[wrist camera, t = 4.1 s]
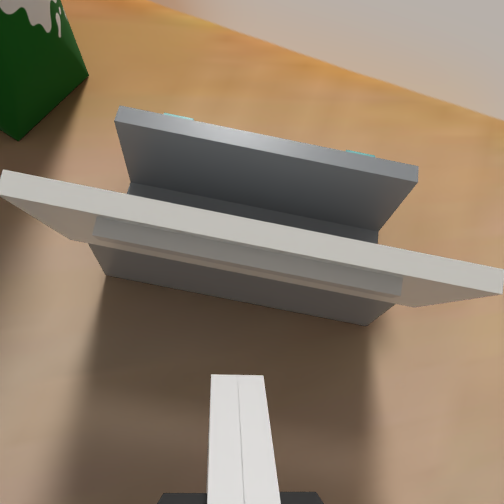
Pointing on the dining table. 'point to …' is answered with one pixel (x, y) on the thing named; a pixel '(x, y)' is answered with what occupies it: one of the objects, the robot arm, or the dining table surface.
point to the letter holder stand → (255, 203)
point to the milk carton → (35, 62)
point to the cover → (248, 244)
